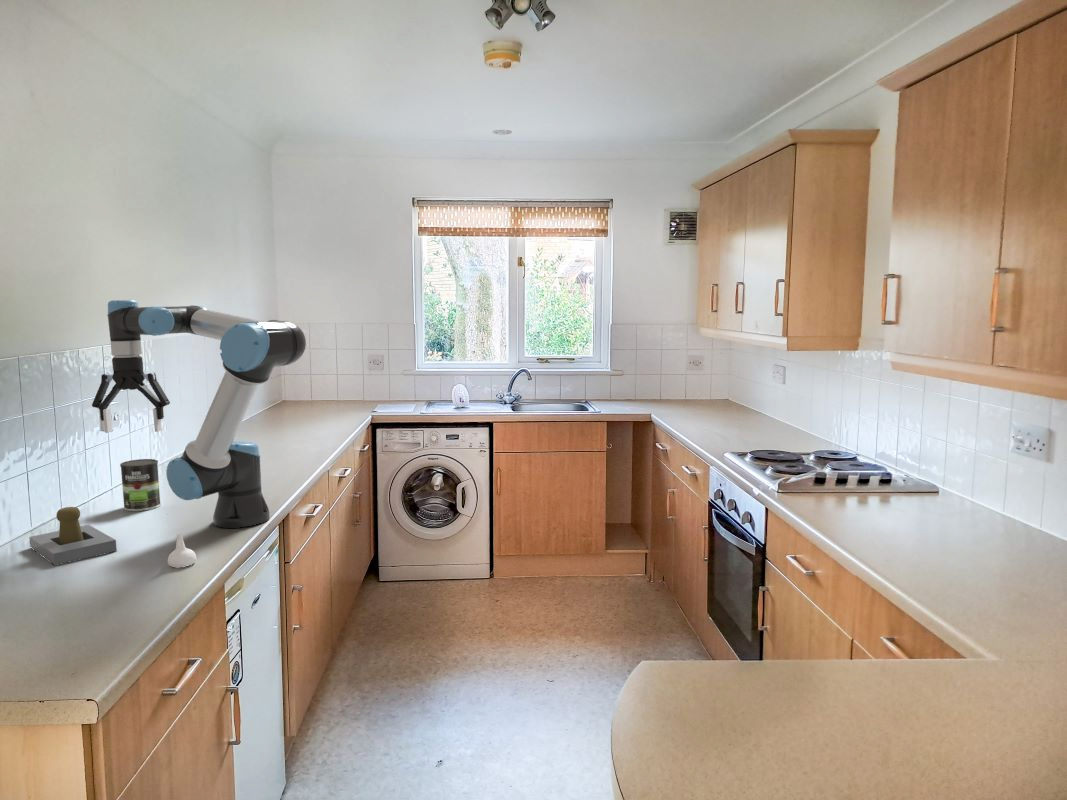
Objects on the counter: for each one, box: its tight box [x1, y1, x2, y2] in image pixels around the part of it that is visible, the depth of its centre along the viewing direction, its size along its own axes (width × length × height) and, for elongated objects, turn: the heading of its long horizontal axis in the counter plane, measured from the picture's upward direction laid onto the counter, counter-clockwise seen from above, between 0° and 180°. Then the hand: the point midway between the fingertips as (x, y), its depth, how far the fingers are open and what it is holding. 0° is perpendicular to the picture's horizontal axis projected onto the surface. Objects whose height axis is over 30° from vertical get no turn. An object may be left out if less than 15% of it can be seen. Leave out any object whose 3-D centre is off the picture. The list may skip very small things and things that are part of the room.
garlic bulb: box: [167, 532, 197, 568], centre depth 187 cm, size 6×6×8 cm
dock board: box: [29, 524, 118, 566], centre depth 199 cm, size 20×14×3 cm
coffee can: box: [120, 458, 162, 512], centre depth 238 cm, size 10×10×14 cm
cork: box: [55, 506, 84, 545], centre depth 199 cm, size 6×6×11 cm
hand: (133, 431), depth 218 cm, fingers open, 13 cm apart
